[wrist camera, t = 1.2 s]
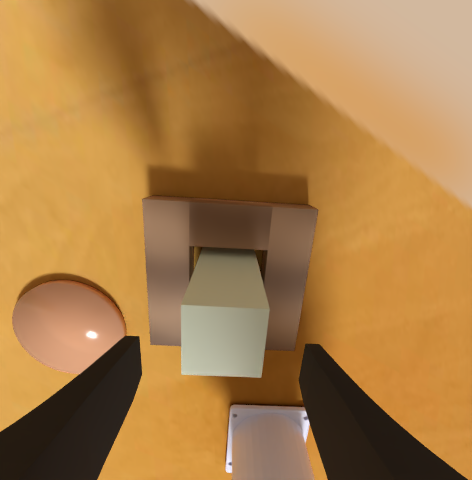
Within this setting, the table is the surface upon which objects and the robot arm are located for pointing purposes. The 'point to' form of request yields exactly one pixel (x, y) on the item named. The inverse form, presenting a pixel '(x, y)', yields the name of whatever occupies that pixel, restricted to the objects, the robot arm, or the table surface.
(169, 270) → the block
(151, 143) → the table surface
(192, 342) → the peg
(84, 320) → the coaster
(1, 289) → the table surface
